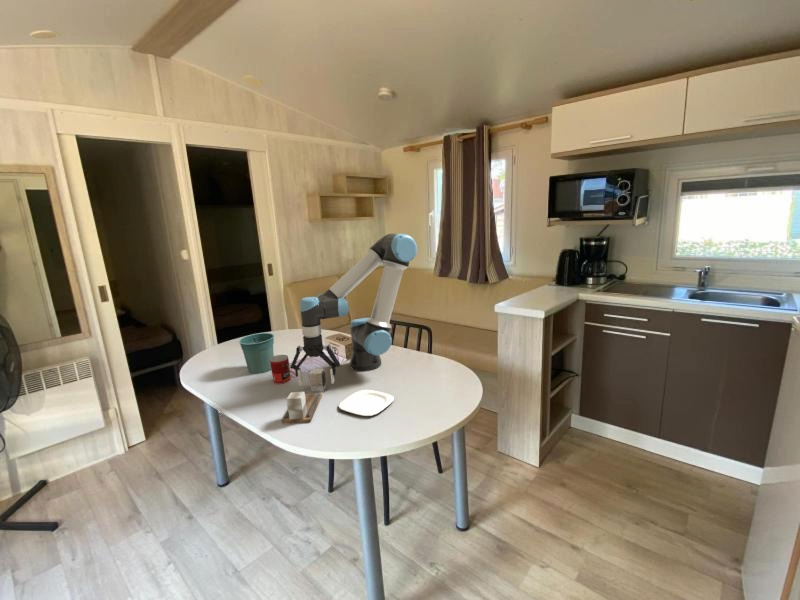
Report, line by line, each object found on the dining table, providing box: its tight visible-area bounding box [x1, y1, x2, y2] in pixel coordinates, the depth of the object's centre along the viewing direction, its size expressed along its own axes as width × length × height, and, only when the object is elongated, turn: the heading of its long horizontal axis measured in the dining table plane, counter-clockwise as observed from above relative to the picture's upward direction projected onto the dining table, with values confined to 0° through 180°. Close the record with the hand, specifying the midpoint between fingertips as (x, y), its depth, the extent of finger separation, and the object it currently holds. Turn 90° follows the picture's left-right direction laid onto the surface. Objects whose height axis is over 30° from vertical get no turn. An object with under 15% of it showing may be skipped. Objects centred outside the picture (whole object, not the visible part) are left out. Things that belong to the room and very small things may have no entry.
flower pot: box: [238, 332, 275, 375], centre depth 184 cm, size 16×16×16 cm
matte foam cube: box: [309, 368, 327, 393], centre depth 159 cm, size 6×5×8 cm
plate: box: [338, 389, 395, 417], centre depth 144 cm, size 18×18×2 cm
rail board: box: [281, 391, 323, 425], centre depth 142 cm, size 10×20×9 cm, turn 0°
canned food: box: [270, 354, 292, 385], centre depth 170 cm, size 8×8×11 cm
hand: (316, 383), depth 159 cm, fingers open, 13 cm apart
